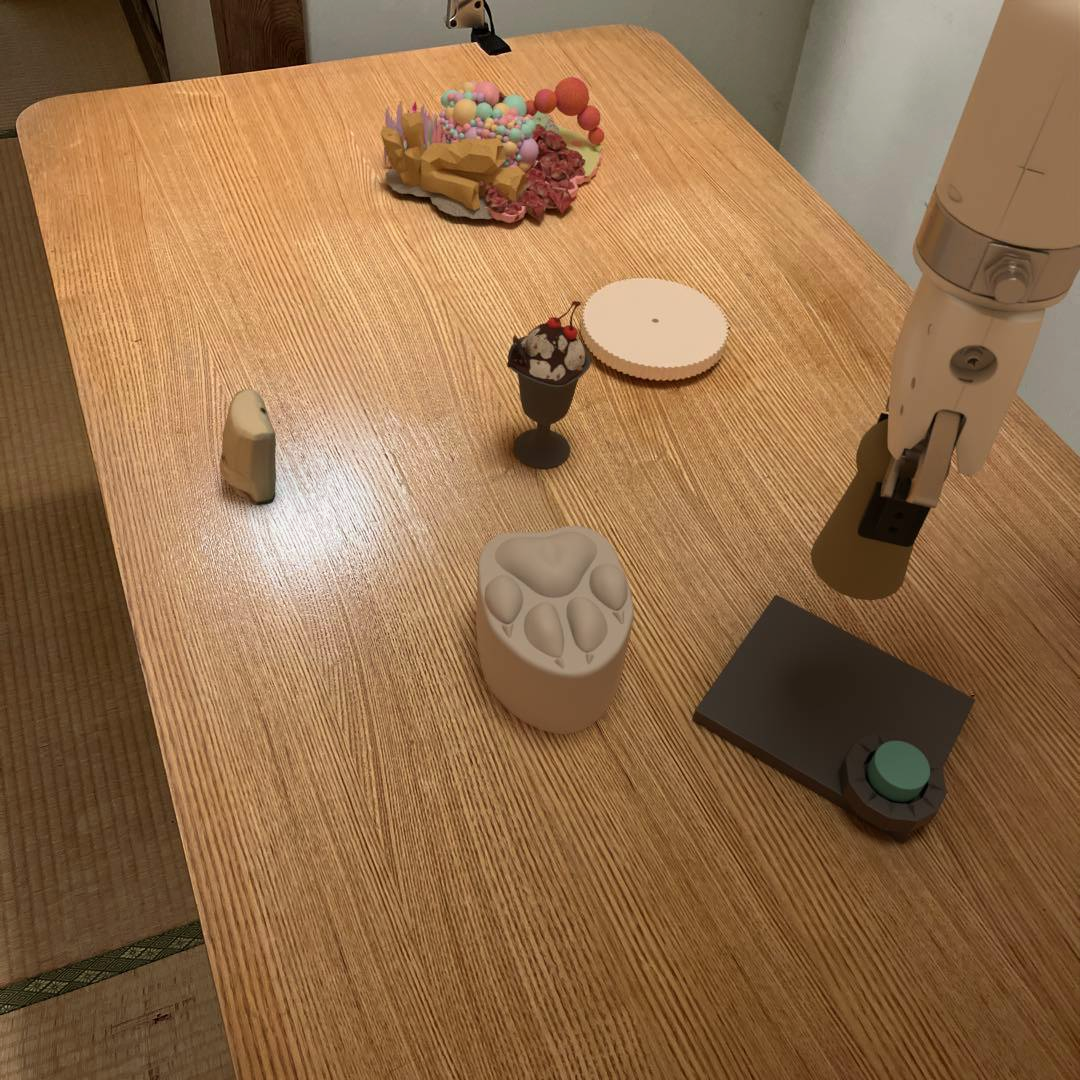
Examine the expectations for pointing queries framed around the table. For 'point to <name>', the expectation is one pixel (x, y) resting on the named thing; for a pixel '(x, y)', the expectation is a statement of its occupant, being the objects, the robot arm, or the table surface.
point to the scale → (833, 713)
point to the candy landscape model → (495, 151)
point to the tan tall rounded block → (249, 449)
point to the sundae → (547, 387)
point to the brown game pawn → (839, 547)
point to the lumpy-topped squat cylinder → (553, 625)
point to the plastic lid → (654, 329)
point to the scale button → (898, 771)
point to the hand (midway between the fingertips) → (886, 500)
